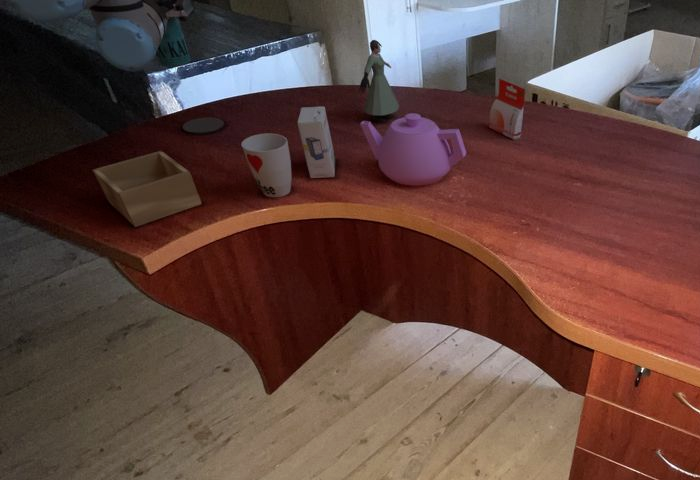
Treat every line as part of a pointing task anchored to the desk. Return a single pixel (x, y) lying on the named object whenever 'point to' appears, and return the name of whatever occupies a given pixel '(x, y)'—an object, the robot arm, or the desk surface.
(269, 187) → the cup
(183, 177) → the crate
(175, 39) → the beverage bottle
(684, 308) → the desk surface
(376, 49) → the character figurine
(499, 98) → the ink box
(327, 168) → the ink box
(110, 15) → the robot arm
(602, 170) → the desk surface
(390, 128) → the teapot
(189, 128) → the coaster
